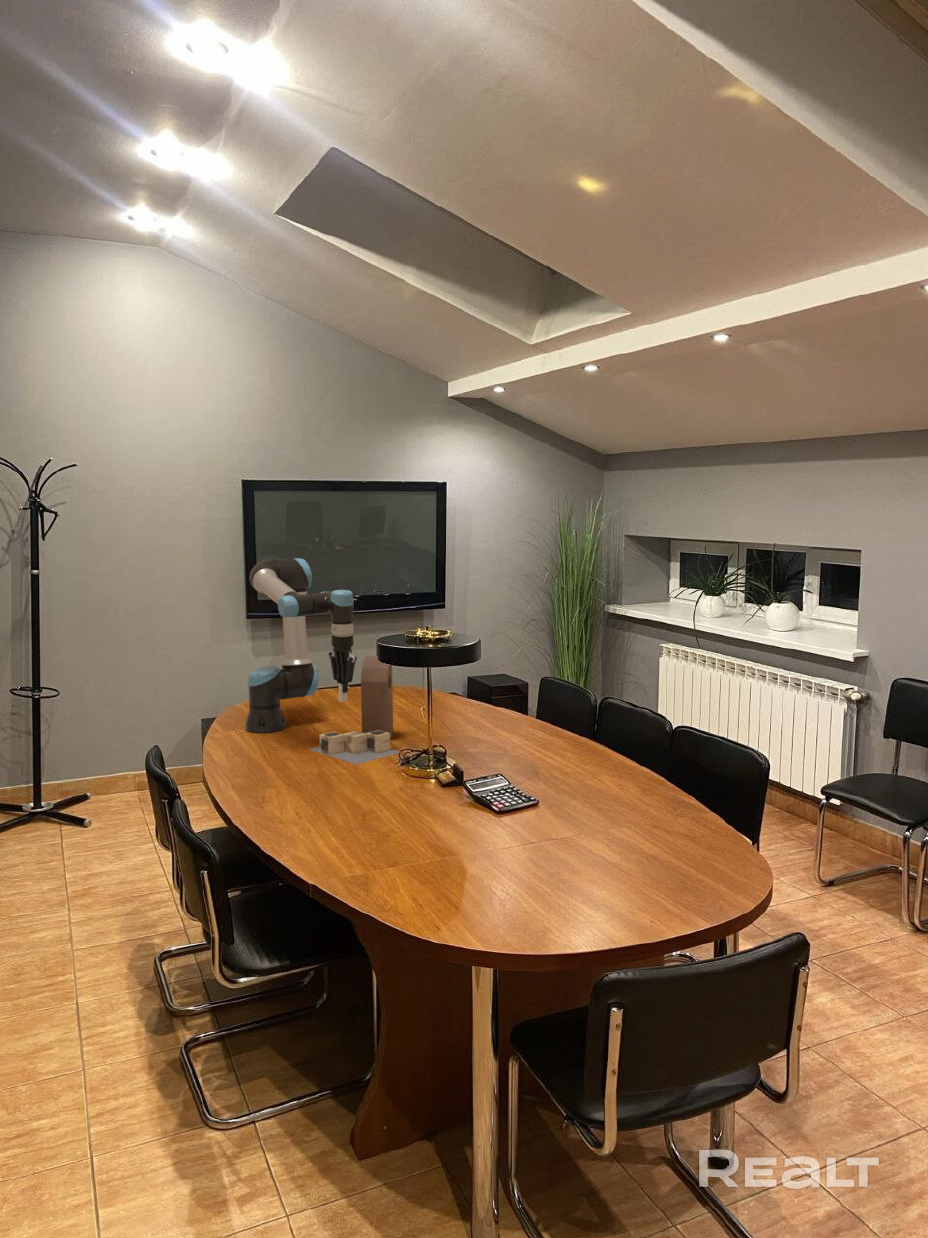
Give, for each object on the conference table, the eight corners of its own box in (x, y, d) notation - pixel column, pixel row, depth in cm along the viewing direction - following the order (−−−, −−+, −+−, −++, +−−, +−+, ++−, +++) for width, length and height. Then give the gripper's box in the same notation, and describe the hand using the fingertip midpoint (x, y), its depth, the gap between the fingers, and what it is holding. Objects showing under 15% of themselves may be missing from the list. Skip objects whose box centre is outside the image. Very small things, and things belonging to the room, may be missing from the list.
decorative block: (393, 735, 346) (392, 656, 342) (388, 742, 336) (387, 661, 332) (367, 735, 347) (365, 655, 343) (362, 742, 337) (360, 660, 333)
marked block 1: (319, 751, 323) (318, 734, 322) (333, 748, 327) (333, 730, 326) (329, 755, 319) (329, 737, 318) (344, 751, 323) (343, 733, 322)
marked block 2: (365, 750, 324) (364, 732, 324) (379, 746, 329) (378, 729, 328) (376, 753, 320) (376, 735, 319) (390, 749, 325) (389, 732, 324)
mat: (309, 751, 326) (309, 749, 326) (354, 739, 340) (354, 738, 340) (356, 766, 308) (356, 764, 308) (401, 753, 322) (401, 752, 322)
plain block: (343, 750, 324) (342, 734, 323) (356, 747, 328) (356, 730, 327) (353, 754, 320) (353, 737, 319) (367, 750, 324) (367, 733, 323)
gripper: (322, 633, 323) (323, 699, 327) (345, 639, 315) (346, 706, 319) (339, 631, 329) (339, 695, 333) (362, 636, 320) (363, 702, 324)
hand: (343, 700), depth 326 cm, fingers closed
